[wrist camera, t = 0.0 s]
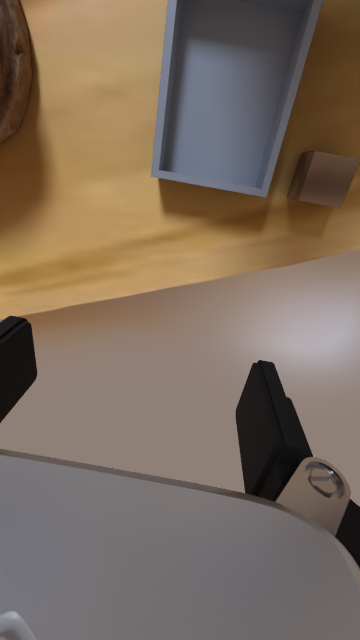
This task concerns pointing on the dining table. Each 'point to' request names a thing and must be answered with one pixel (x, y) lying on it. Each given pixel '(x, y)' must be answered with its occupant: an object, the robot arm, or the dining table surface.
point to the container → (13, 67)
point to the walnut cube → (323, 178)
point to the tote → (229, 89)
